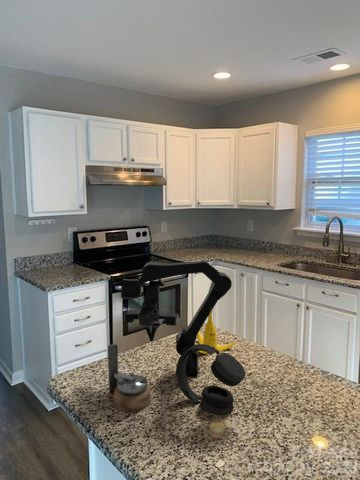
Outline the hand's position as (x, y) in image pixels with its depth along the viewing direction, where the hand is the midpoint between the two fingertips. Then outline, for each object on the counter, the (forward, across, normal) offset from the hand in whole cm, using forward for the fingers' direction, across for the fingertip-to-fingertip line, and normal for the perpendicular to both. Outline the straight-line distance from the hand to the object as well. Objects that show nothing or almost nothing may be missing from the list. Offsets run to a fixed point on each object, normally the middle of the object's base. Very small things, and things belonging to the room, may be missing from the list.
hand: (151, 341), depth 129 cm
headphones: (+12, +23, -16) cm, 31 cm away
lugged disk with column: (+11, -3, -18) cm, 21 cm away
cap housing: (+12, -3, -19) cm, 23 cm away
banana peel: (+12, +16, +28) cm, 35 cm away
